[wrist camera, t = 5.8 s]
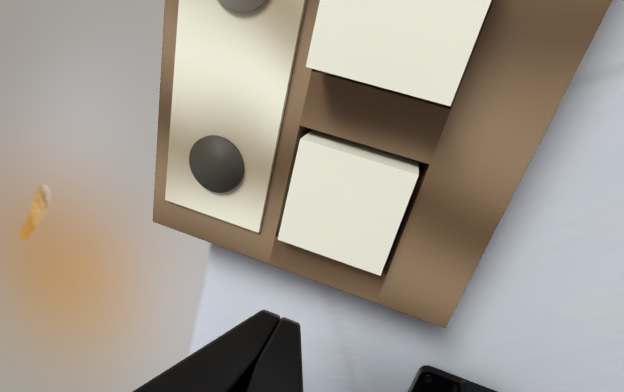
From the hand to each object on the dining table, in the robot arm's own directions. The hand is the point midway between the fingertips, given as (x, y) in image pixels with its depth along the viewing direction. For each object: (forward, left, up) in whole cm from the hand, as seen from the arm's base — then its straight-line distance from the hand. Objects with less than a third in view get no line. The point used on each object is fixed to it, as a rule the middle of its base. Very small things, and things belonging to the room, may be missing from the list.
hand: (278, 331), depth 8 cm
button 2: (0, 0, -10) cm, 10 cm away
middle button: (+7, 0, -9) cm, 11 cm away
